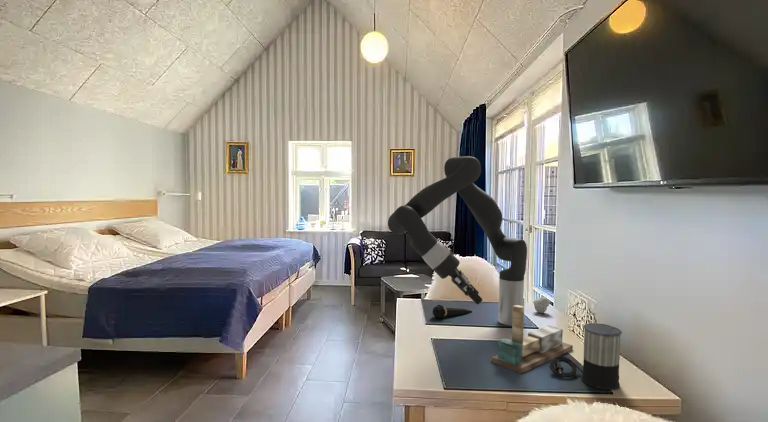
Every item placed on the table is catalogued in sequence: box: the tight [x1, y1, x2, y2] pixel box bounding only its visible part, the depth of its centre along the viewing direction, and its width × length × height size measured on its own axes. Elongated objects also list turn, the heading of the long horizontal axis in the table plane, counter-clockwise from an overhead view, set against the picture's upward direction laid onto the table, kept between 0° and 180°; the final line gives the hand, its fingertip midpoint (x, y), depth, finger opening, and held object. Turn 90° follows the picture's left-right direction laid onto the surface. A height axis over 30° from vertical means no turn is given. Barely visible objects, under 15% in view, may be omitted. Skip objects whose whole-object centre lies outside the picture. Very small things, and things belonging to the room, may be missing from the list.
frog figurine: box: [532, 296, 551, 314], centre depth 175 cm, size 6×7×7 cm
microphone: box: [432, 304, 473, 320], centre depth 170 cm, size 6×6×20 cm
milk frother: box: [549, 322, 623, 391], centre depth 113 cm, size 14×16×15 cm
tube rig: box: [491, 325, 574, 374], centre depth 129 cm, size 29×10×7 cm, turn 128°
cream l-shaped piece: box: [511, 305, 541, 357], centre depth 126 cm, size 18×3×15 cm, turn 128°
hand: (478, 298), depth 123 cm, fingers open, 8 cm apart
